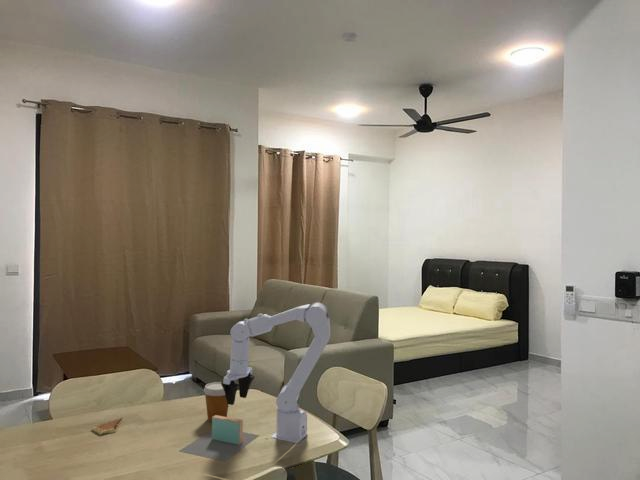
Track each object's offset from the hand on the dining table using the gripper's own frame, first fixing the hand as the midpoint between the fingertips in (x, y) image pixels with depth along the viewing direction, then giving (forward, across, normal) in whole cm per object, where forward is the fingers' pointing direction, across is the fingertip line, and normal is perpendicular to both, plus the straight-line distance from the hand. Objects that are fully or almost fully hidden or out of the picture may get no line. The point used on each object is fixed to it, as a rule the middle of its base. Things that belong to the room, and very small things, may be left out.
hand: (236, 400), depth 161 cm
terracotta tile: (+10, +7, +2) cm, 12 cm away
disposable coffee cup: (+11, -7, -12) cm, 18 cm away
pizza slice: (+13, +14, -40) cm, 45 cm away
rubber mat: (+11, +9, 0) cm, 14 cm away
